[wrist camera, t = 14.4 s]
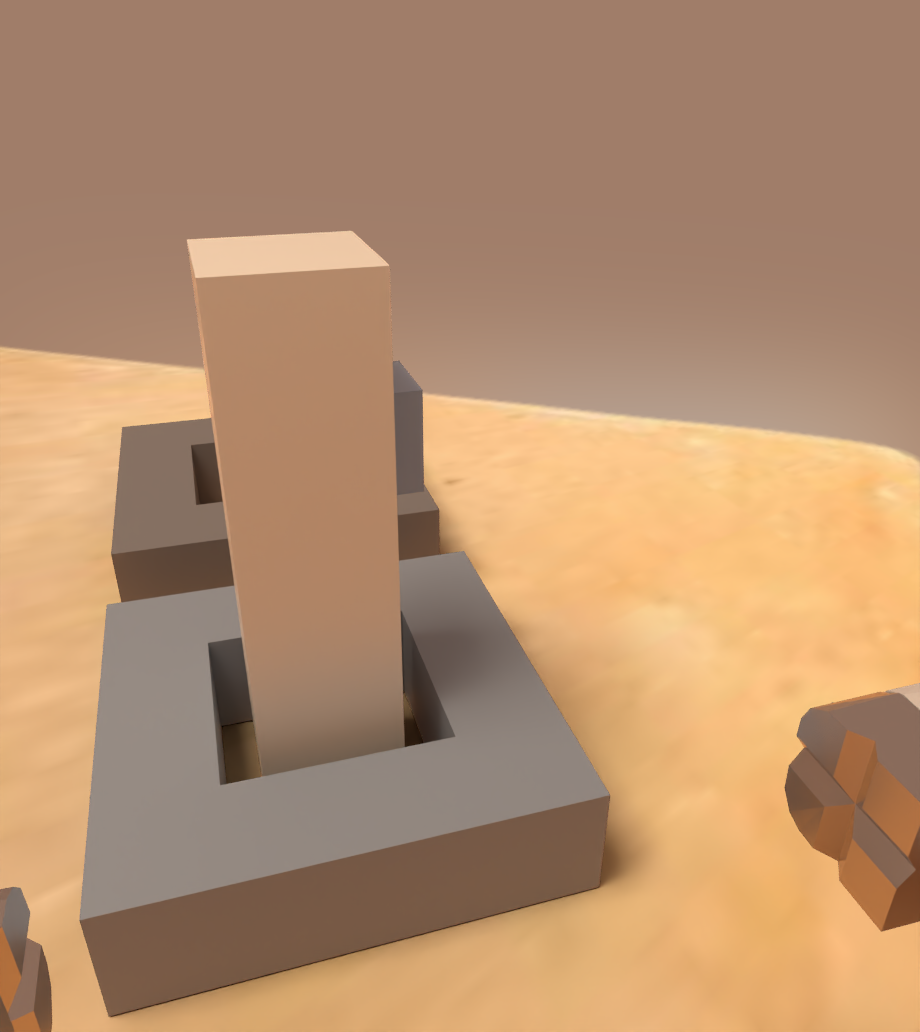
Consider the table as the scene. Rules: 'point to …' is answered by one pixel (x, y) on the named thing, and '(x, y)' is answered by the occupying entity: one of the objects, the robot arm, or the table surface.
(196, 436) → the socket
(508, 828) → the socket
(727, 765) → the table surface
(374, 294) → the plug
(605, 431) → the table surface
